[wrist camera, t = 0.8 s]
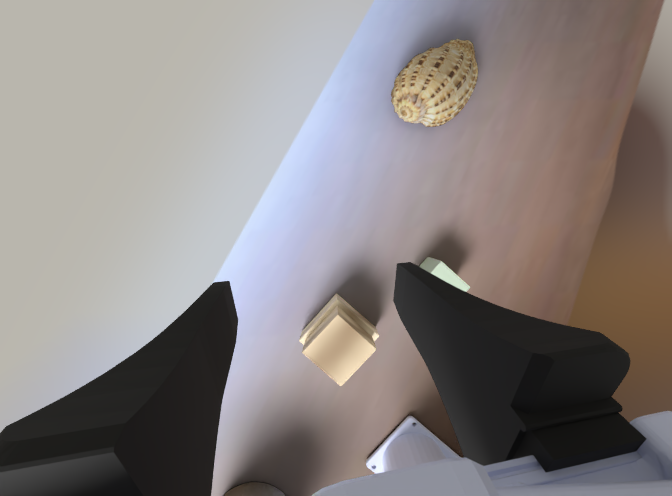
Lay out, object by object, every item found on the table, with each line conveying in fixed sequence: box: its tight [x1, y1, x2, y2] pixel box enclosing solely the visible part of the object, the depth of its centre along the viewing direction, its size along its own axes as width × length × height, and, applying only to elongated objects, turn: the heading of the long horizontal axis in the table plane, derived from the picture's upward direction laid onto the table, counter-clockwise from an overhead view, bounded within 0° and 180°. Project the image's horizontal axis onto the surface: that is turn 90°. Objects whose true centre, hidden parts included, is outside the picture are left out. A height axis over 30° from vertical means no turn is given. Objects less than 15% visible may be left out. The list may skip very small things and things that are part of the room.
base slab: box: [299, 293, 379, 345], centre depth 31 cm, size 6×6×3 cm
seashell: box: [391, 39, 478, 127], centre depth 28 cm, size 8×6×10 cm
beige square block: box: [302, 306, 376, 386], centre depth 28 cm, size 5×5×3 cm
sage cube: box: [419, 257, 470, 292], centre depth 30 cm, size 4×4×4 cm
